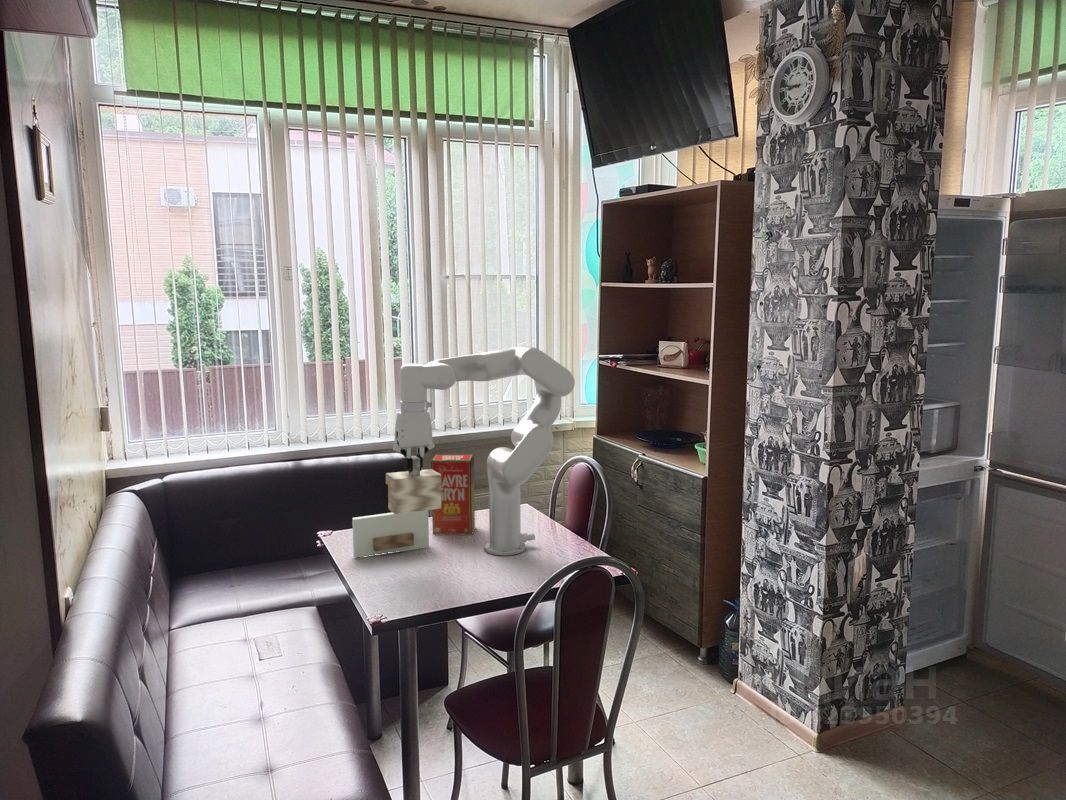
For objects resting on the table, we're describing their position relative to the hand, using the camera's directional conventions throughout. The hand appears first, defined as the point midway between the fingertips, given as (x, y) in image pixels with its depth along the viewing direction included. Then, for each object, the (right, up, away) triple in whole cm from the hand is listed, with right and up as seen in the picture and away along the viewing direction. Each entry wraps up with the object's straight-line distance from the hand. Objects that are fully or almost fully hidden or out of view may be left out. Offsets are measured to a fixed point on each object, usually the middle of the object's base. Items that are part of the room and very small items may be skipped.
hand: (413, 470), depth 218 cm
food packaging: (+8, -23, +34) cm, 42 cm away
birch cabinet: (0, -11, +2) cm, 11 cm away
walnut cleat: (-8, -24, +11) cm, 28 cm away
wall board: (-9, -26, +13) cm, 30 cm away
